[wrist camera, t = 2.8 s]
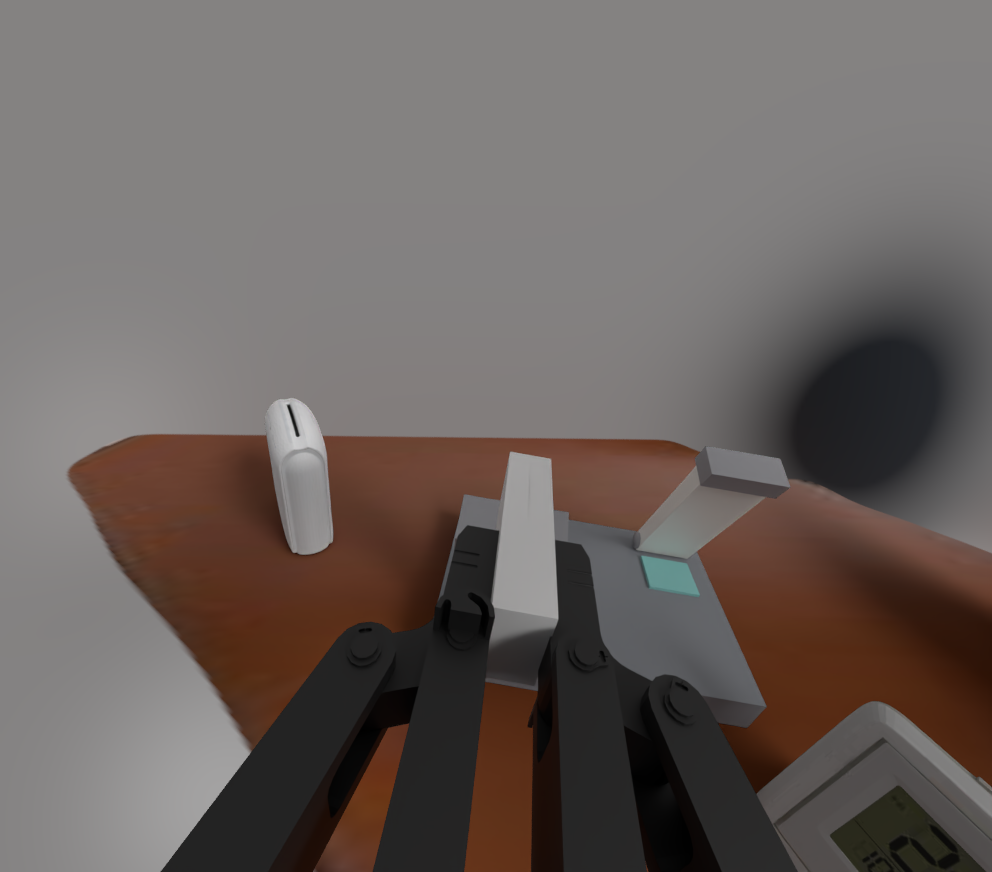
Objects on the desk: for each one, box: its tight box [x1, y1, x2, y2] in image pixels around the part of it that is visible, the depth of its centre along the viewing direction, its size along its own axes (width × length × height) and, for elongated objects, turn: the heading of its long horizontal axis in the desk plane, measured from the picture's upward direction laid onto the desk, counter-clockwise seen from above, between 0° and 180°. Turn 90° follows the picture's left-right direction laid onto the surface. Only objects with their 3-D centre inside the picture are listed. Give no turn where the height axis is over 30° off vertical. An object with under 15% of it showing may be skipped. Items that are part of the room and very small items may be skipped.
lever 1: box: [454, 494, 569, 549], centre depth 26 cm, size 2×5×15 cm, turn 85°
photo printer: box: [265, 398, 333, 555], centre depth 38 cm, size 10×4×12 cm, turn 30°
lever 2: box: [632, 446, 790, 559], centre depth 34 cm, size 2×5×15 cm, turn 86°
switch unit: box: [438, 520, 767, 728], centre depth 36 cm, size 16×24×3 cm, turn 85°
